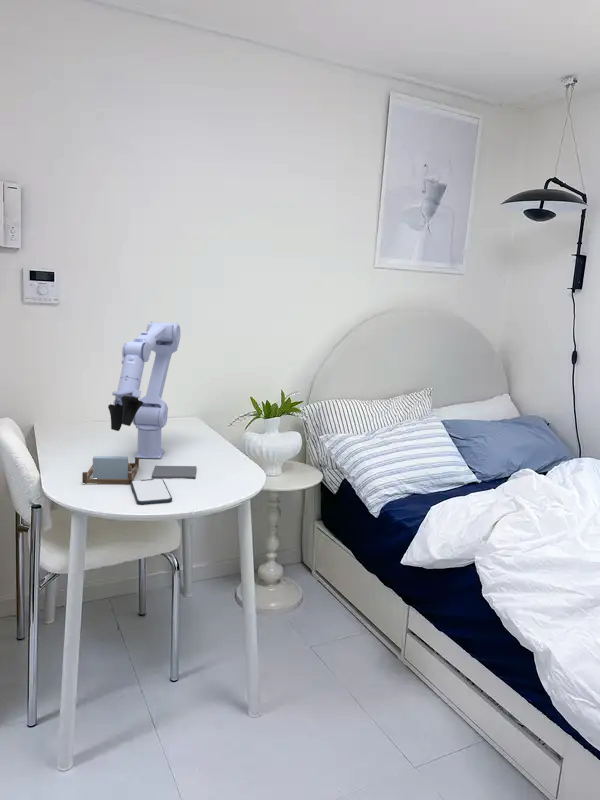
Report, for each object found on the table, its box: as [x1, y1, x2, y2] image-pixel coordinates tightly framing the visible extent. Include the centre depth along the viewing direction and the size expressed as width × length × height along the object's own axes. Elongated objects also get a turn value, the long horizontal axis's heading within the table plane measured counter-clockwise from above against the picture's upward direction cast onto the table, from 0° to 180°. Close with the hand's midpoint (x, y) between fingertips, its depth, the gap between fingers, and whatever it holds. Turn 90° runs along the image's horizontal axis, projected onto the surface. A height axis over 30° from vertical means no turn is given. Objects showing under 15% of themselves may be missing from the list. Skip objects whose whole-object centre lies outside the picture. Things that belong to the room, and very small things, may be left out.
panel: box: [92, 455, 129, 479], centre depth 161 cm, size 2×9×6 cm, turn 98°
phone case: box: [130, 478, 173, 506], centre depth 152 cm, size 9×2×16 cm
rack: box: [81, 456, 140, 485], centre depth 164 cm, size 16×13×3 cm
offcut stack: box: [128, 462, 133, 472], centre depth 169 cm, size 3×9×2 cm, turn 98°
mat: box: [151, 465, 197, 480], centre depth 169 cm, size 10×12×1 cm
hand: (120, 427), depth 160 cm, fingers open, 7 cm apart
